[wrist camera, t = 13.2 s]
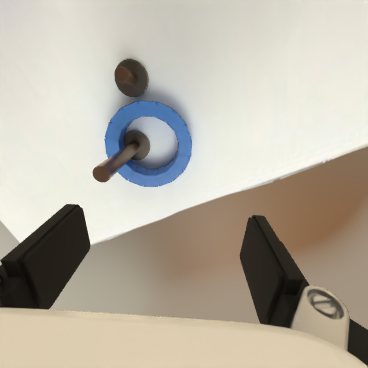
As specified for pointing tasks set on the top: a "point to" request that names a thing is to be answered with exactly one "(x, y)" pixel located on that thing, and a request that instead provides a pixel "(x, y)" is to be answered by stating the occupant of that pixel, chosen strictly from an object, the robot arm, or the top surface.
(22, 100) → the top surface
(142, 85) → the short peg
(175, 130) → the segmented ring
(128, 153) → the tall peg
